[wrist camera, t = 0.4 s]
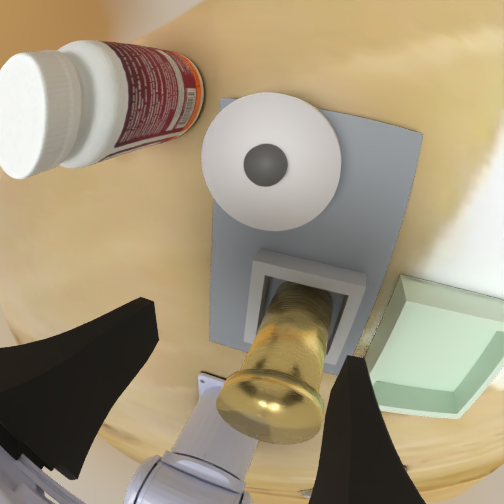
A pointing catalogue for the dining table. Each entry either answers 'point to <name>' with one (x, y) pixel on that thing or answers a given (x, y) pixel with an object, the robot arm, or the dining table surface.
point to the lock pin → (282, 370)
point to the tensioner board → (326, 233)
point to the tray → (435, 349)
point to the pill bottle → (92, 104)
